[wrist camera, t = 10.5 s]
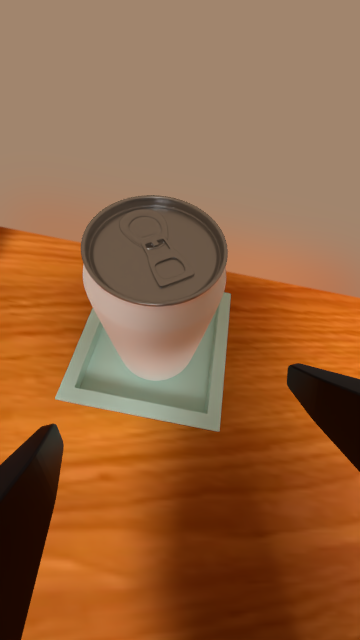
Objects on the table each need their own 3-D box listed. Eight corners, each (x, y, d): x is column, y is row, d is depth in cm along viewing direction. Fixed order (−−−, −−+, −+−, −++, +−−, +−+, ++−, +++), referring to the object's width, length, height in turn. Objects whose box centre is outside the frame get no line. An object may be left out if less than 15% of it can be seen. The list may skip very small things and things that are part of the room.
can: (173, 302, 21) (189, 176, 10) (206, 361, 19) (271, 277, 8) (108, 328, 19) (47, 208, 9) (137, 396, 17) (103, 349, 6)
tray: (225, 303, 22) (231, 293, 21) (213, 430, 17) (219, 431, 15) (112, 280, 22) (108, 268, 21) (64, 401, 17) (54, 398, 15)
